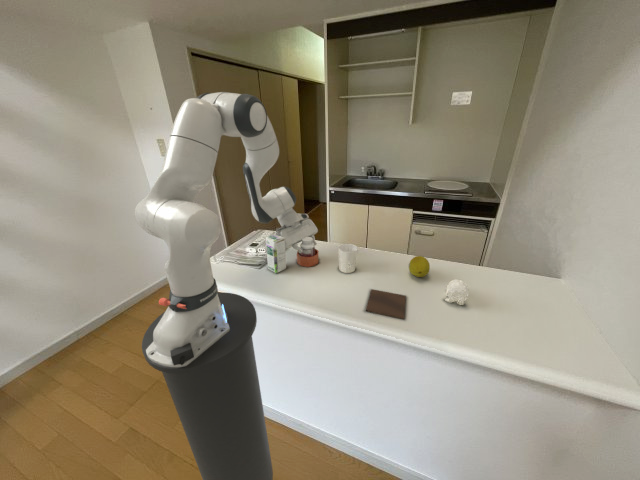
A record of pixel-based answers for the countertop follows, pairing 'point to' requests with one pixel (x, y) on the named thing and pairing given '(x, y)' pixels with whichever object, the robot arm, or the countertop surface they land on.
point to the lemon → (419, 266)
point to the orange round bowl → (308, 259)
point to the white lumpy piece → (457, 291)
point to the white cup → (347, 257)
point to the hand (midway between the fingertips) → (308, 248)
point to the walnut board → (386, 304)
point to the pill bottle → (308, 247)
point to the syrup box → (276, 253)
